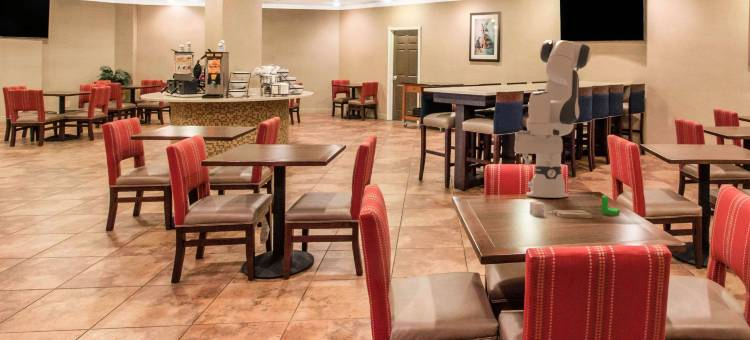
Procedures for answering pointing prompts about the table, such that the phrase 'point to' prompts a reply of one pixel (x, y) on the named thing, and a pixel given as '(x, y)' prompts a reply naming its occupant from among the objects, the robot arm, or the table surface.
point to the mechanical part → (605, 207)
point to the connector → (537, 209)
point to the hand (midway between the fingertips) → (537, 165)
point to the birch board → (572, 214)
